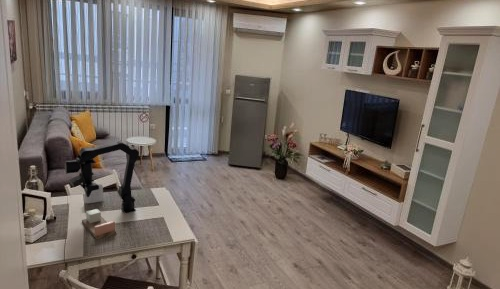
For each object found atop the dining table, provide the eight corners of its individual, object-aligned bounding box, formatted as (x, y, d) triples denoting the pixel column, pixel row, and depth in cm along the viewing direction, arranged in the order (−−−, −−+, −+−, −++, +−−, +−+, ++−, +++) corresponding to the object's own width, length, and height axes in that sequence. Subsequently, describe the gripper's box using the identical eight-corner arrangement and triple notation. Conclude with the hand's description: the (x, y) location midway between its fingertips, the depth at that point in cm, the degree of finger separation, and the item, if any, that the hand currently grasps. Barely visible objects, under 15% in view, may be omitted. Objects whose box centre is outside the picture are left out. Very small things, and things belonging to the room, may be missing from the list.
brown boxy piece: (100, 217, 199) (99, 207, 197) (116, 233, 184) (116, 222, 182) (81, 222, 192) (81, 211, 190) (97, 239, 177) (96, 228, 175)
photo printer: (102, 198, 222) (101, 181, 219) (103, 201, 219) (103, 183, 215) (85, 201, 216) (84, 183, 213) (86, 204, 213) (85, 185, 210)
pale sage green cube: (97, 216, 196) (97, 208, 195) (100, 220, 193) (100, 212, 191) (86, 219, 192) (86, 211, 191) (89, 223, 189) (89, 215, 187)
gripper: (65, 168, 191) (67, 194, 195) (76, 179, 178) (78, 206, 183) (86, 164, 199) (87, 190, 203) (98, 175, 186) (99, 201, 190)
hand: (87, 196), depth 194 cm, fingers closed
